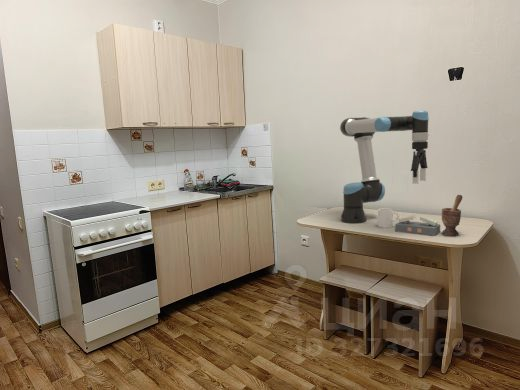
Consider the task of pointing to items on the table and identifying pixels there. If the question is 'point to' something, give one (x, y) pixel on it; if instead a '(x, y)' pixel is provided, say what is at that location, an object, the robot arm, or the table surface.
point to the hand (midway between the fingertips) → (419, 182)
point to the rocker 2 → (428, 220)
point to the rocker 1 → (407, 218)
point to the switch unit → (417, 228)
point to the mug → (386, 217)
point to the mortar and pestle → (452, 218)
